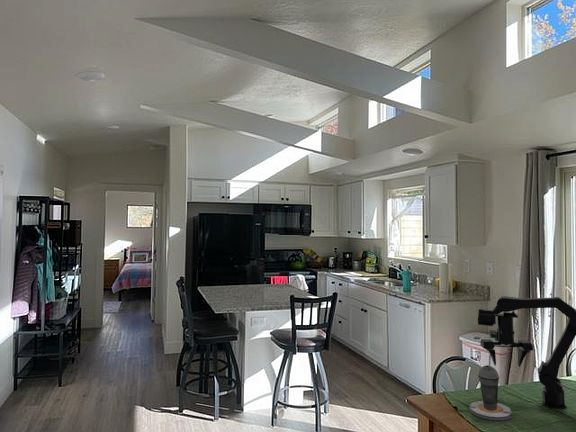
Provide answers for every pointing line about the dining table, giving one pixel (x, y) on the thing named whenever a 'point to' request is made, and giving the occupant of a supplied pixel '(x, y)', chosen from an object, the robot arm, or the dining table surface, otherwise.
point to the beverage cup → (489, 386)
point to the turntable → (500, 412)
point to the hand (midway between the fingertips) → (506, 365)
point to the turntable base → (491, 418)
